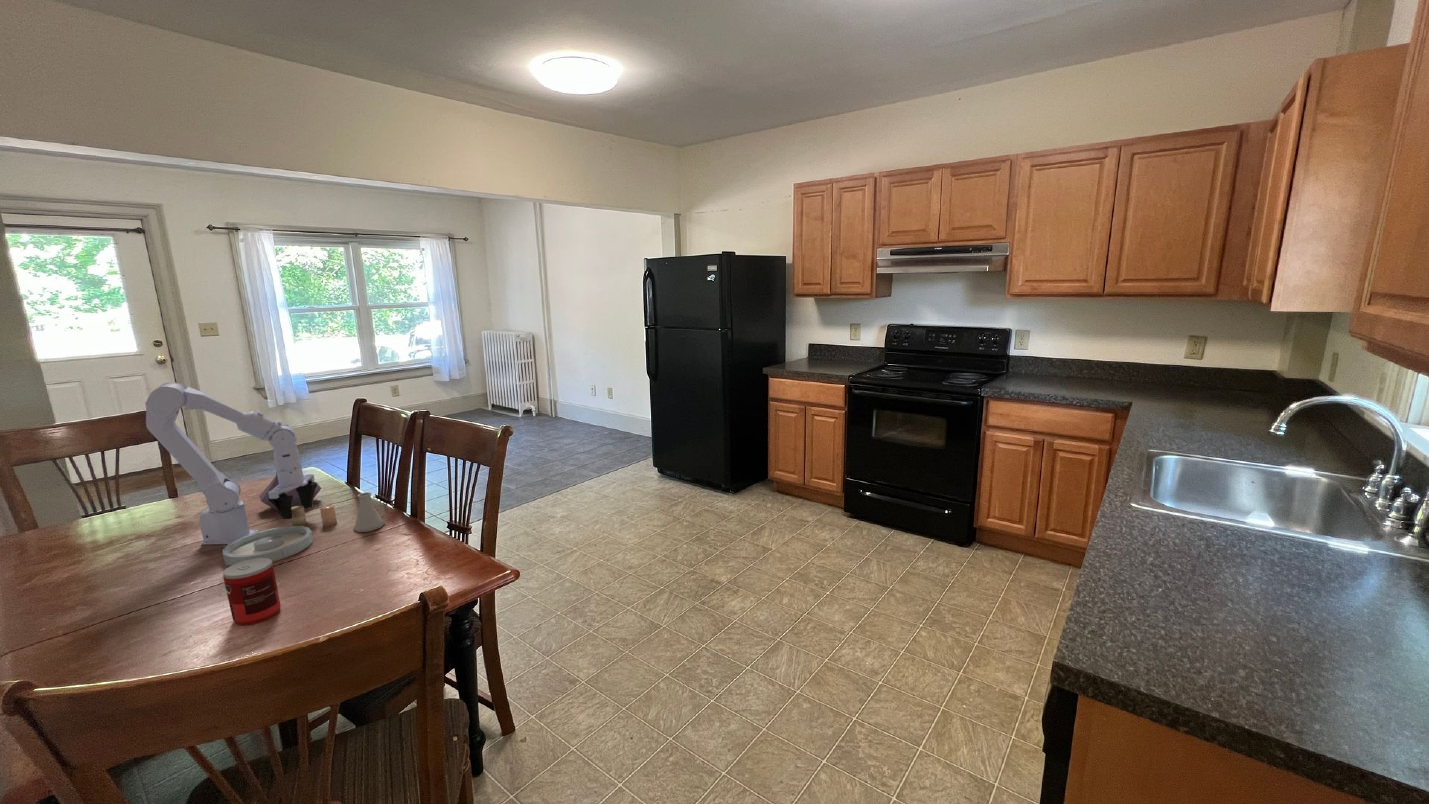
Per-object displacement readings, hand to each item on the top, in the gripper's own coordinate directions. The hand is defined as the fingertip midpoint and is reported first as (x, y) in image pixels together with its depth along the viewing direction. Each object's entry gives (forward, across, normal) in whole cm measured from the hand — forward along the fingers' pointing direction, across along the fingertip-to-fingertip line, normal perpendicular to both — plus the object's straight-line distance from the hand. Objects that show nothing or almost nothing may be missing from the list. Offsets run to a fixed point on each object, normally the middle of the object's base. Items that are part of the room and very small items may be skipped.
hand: (297, 513), depth 160 cm
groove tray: (+3, -16, -4) cm, 17 cm away
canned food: (+3, -46, -26) cm, 53 cm away
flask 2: (+4, -3, -22) cm, 23 cm away
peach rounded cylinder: (+3, 0, -9) cm, 10 cm away
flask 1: (+4, +15, +14) cm, 20 cm away
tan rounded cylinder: (+3, 0, 0) cm, 3 cm away
